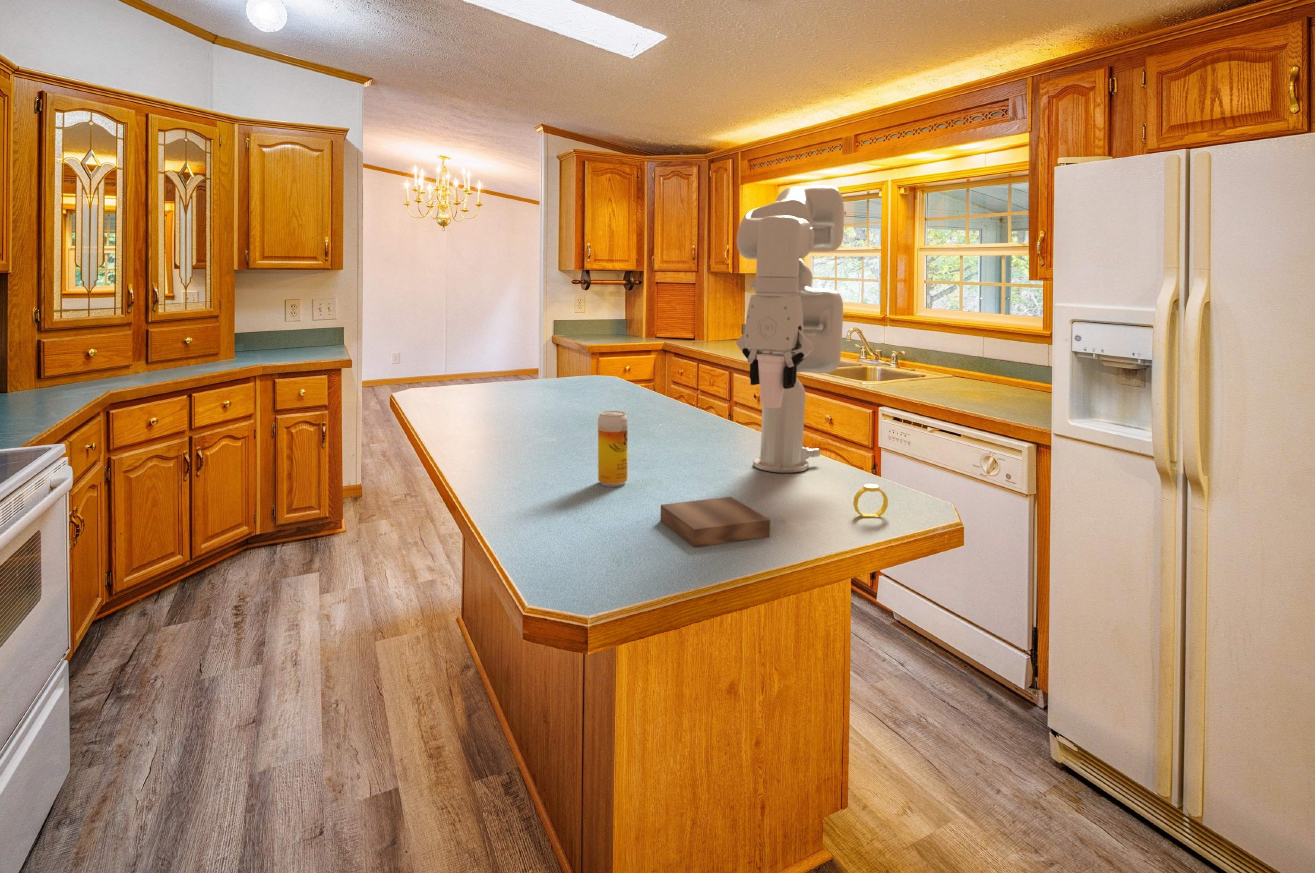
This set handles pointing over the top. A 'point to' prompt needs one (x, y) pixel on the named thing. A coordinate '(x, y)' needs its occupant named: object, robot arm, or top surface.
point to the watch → (871, 488)
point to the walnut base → (714, 521)
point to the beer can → (612, 448)
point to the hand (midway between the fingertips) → (772, 385)
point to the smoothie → (771, 378)
